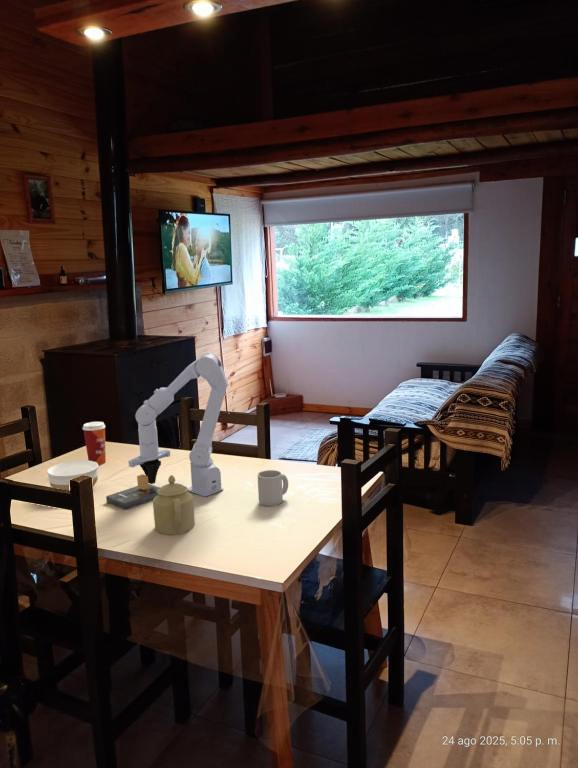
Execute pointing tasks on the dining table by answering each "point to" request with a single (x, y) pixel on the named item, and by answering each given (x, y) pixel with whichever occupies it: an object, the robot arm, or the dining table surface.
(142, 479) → the fader
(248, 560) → the dining table surface
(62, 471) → the bowl
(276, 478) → the cup
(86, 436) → the coffee cup
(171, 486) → the sugar bowl
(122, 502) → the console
